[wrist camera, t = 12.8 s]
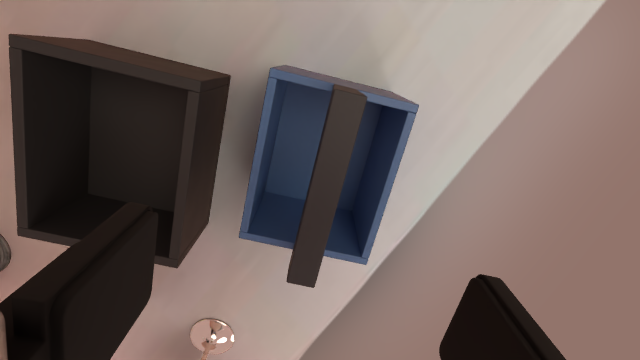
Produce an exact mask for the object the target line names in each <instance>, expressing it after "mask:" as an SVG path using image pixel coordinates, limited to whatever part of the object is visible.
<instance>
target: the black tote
mask: <svg viewBox="0 0 640 360" xmlns="http://www.w3.org/2000/svg"><path fill="white" fill-rule="evenodd" d="M9 46H10V47H9V59H10V80H11V102H12V123H13V145H14V166H15V188H16V209H17V226H18V227H17V233H18V236H22V237H27V238H32V239H37V240H42V241H47V242H52V243H57V244H61V245H66V246H72V245H74V244H75V243H77V242H80V241H81V240H82V239H83V238H84V237H86V236H87V235H88V234H89V233H91V232H92V231H93V230H94V229H96V228H97V227H98V226H99V225H101V224H102V223H103V222H104V221H105V220H107V219H108V218H109V217H110V216H112V215H113V214H114V213H115V212H117V211H118V210H119V209H120V208H122V207H123V206H124V205H125V204H126V203H128V202H134V203H138V204H143V205H148V206H151V207H152V210H153V212H156V213H158V226H157V237H156V247H155V258H154V264H159V265H164V266H169V267H173V268H178V267H179V265H180V264H181V262H182V261H183V259H184V258H185V256H186V255H187V253H188V252H189V251H190V249H191V248H192V246H193V245H194V243H195V242H196V240H197V239H198V237H199V236H200V234H201V233H202V231H203V230H204V229H205V227H206V225H207V224H208V221H209V215H210V208H211V201H212V195H213V188H214V182H215V175H216V169H217V162H218V156H219V149H220V143H221V136H222V130H223V123H224V117H225V110H226V104H227V97H228V90H229V84H230V77H231V76H230V75H228V74H224V73H220V72H216V71H212V70H208V69H204V68H200V67H196V66H192V65H188V64H184V63H180V62H176V61H172V60H168V59H164V58H160V57H156V56H152V55H148V54H144V53H140V52H136V51H131V50H127V49H123V48H119V47H115V46H111V45H107V44H103V43H99V42H95V41H91V40H85V39H72V38H58V37H45V36H32V35H19V34H9Z"/></svg>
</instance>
